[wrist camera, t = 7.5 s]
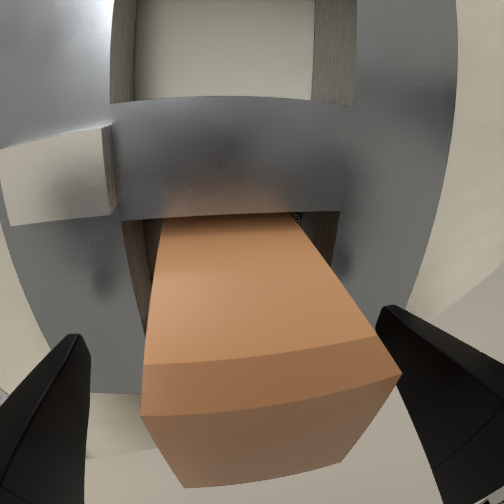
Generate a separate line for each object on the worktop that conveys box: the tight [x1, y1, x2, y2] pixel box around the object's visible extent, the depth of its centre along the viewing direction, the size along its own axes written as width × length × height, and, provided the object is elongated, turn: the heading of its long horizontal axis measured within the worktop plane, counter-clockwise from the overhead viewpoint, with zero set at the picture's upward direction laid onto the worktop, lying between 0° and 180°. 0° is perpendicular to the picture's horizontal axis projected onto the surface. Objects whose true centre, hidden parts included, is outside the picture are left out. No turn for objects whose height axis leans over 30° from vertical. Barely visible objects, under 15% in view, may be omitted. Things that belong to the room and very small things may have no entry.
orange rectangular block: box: [140, 212, 402, 488], centre depth 8 cm, size 4×4×8 cm
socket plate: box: [0, 0, 458, 394], centre depth 8 cm, size 14×18×4 cm
